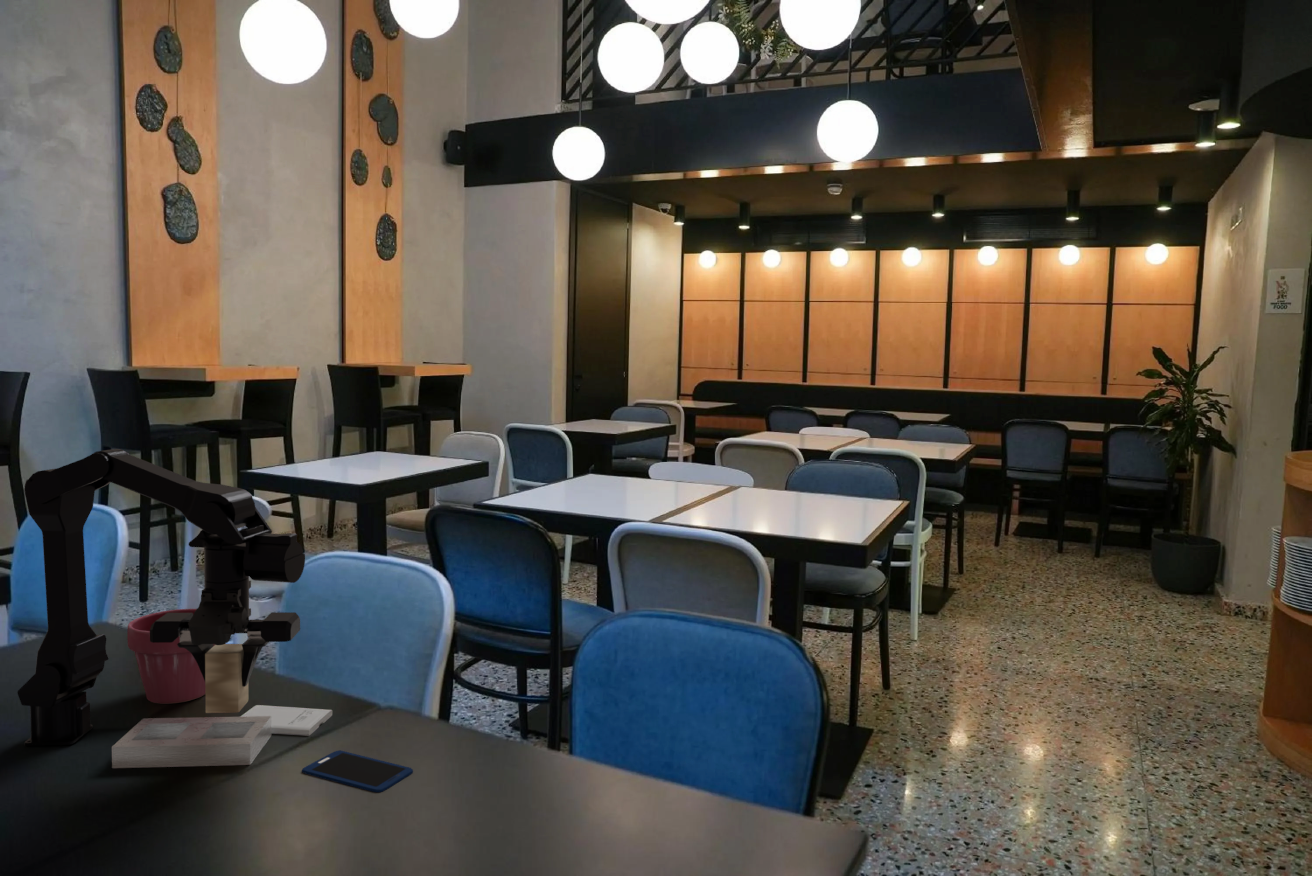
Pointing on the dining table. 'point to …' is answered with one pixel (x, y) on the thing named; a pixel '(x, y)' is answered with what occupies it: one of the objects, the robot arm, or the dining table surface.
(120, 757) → the double square frame
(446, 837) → the dining table surface
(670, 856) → the dining table surface
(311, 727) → the external hard drive
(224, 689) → the maple peg
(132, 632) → the plant pot
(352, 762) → the cell phone
